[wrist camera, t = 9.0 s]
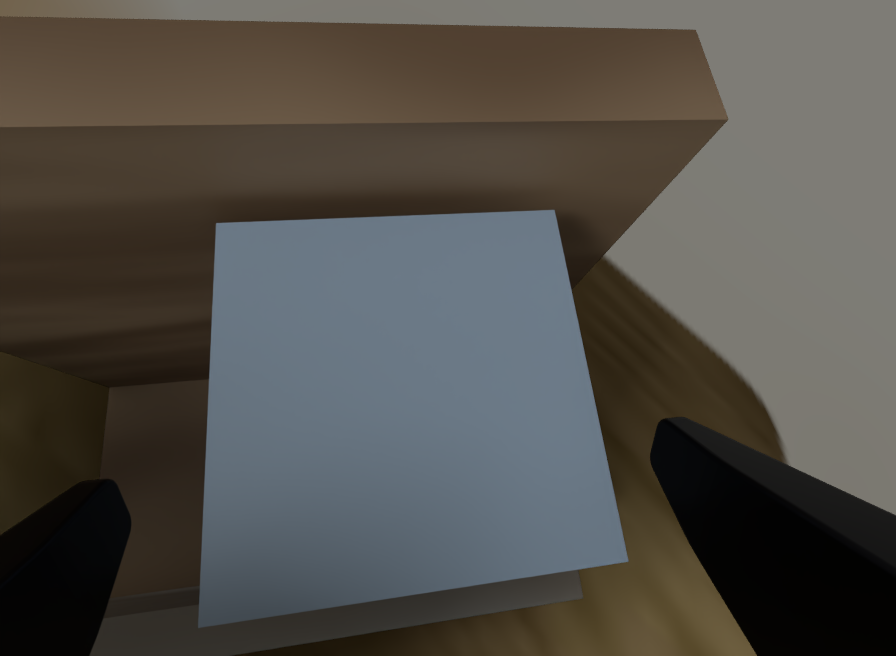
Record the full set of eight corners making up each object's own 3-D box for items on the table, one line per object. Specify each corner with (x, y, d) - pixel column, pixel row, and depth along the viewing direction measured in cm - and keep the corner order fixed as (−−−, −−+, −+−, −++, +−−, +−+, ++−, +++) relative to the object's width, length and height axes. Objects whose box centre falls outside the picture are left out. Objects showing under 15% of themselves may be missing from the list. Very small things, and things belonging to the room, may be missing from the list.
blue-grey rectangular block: (479, 511, 16) (628, 561, 6) (328, 531, 15) (197, 628, 5) (461, 367, 17) (554, 209, 7) (323, 379, 16) (216, 223, 7)
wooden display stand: (542, 590, 16) (1032, 948, 4) (99, 660, 14) (-1969, 1904, 2) (500, 322, 19) (695, 29, 7) (130, 350, 17) (-554, 5, 5)
